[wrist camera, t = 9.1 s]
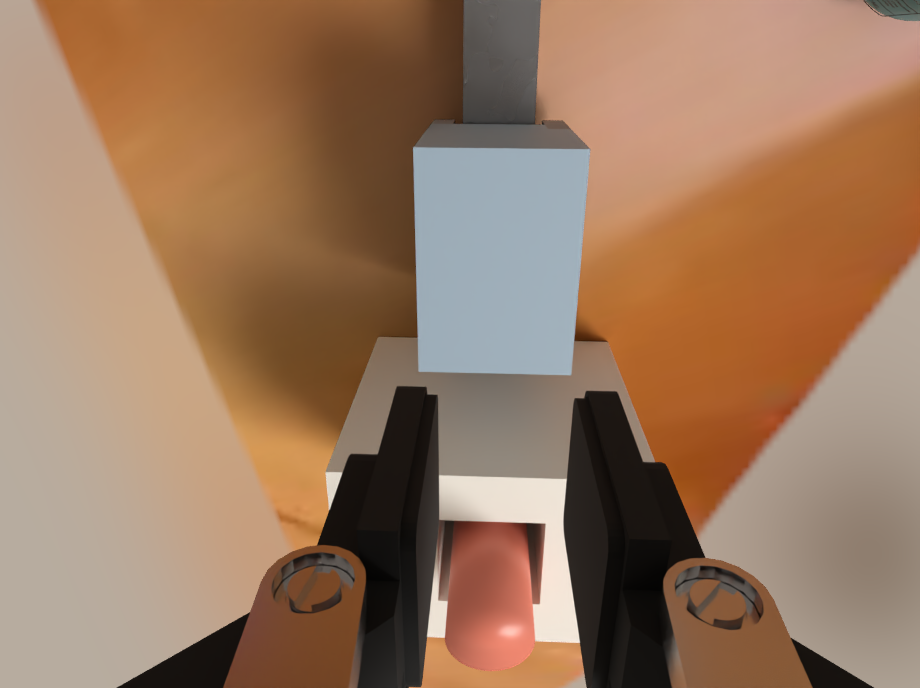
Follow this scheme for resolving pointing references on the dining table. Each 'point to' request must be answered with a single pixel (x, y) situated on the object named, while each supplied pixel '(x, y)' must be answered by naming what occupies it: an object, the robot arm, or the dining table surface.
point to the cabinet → (493, 458)
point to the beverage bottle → (897, 8)
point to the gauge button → (490, 595)
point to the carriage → (498, 246)
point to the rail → (500, 61)
